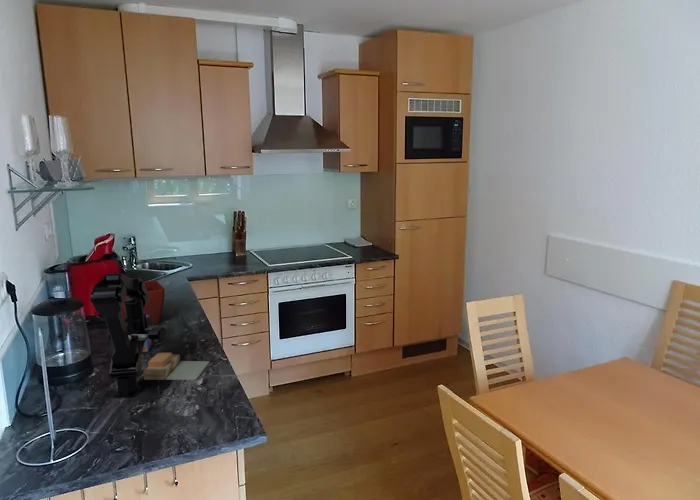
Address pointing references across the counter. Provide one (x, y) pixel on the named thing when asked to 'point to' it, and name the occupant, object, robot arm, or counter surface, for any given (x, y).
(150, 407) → the counter surface
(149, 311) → the plant pot
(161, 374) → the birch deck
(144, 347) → the ink cartridge box
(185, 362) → the sage mat
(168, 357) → the orange block
